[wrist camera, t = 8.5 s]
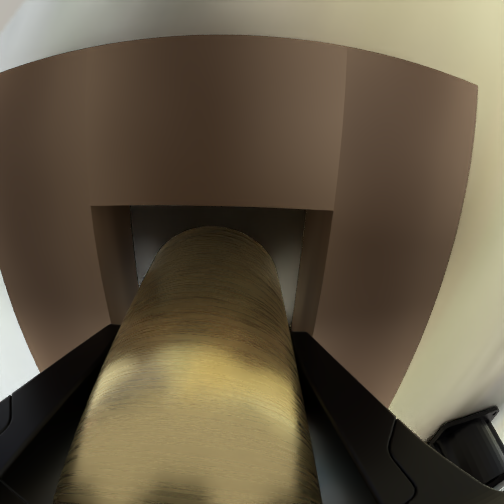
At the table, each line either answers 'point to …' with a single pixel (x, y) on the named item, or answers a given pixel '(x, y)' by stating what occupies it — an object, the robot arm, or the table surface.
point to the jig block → (236, 180)
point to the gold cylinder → (197, 388)
